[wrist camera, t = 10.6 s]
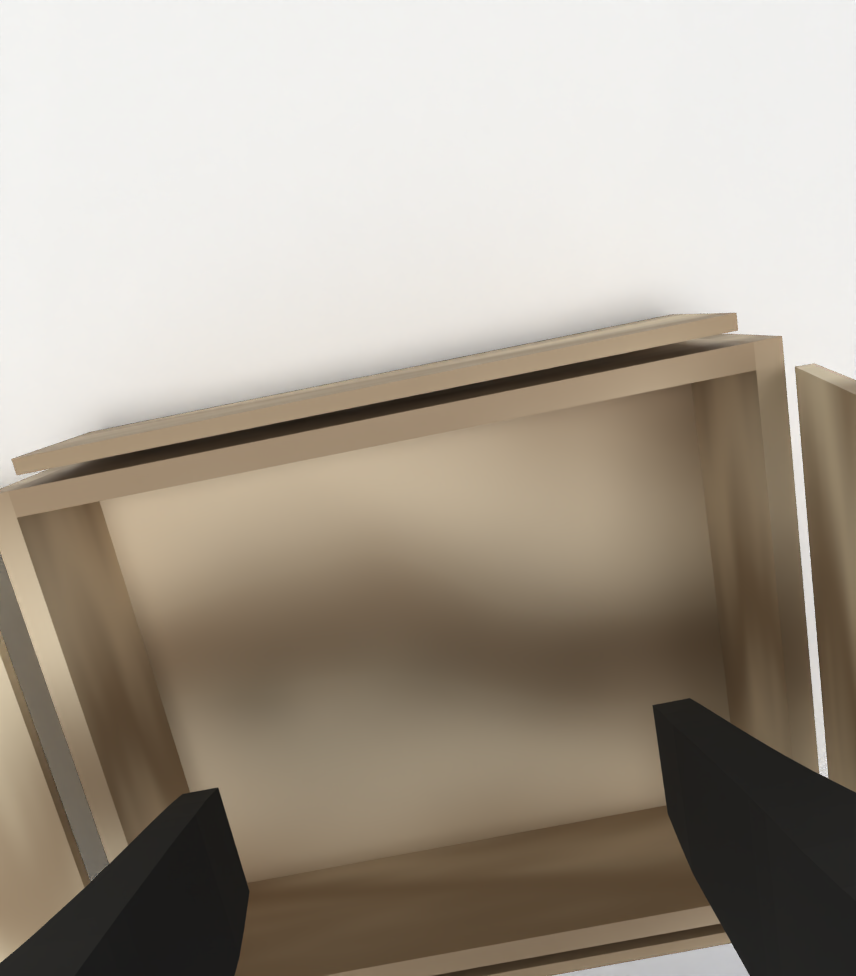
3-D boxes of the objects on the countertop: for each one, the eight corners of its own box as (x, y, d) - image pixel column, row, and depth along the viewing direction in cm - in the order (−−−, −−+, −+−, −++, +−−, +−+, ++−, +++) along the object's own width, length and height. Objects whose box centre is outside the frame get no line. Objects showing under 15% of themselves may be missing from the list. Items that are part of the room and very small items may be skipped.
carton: (756, 816, 19) (832, 925, 15) (211, 916, 19) (167, 1044, 16) (700, 307, 16) (779, 304, 13) (58, 437, 16) (-35, 468, 13)
